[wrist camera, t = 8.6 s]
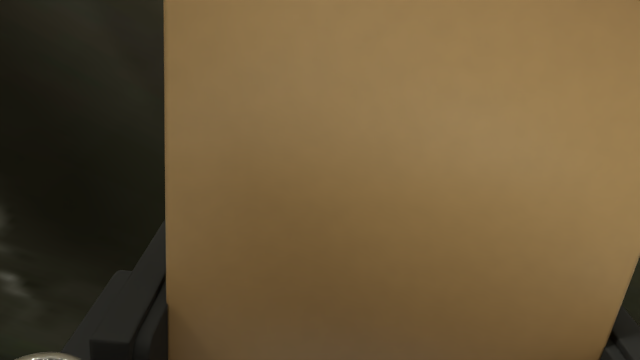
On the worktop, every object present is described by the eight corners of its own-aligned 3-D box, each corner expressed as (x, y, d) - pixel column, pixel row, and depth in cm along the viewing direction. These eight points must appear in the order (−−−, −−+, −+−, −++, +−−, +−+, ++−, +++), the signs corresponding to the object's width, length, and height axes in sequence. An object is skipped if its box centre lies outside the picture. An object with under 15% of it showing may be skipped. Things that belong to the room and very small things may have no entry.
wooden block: (222, -64, 9) (160, -72, 6) (602, -22, 9) (742, -8, 6) (206, 480, 14) (168, 634, 11) (453, 503, 14) (487, 664, 11)
